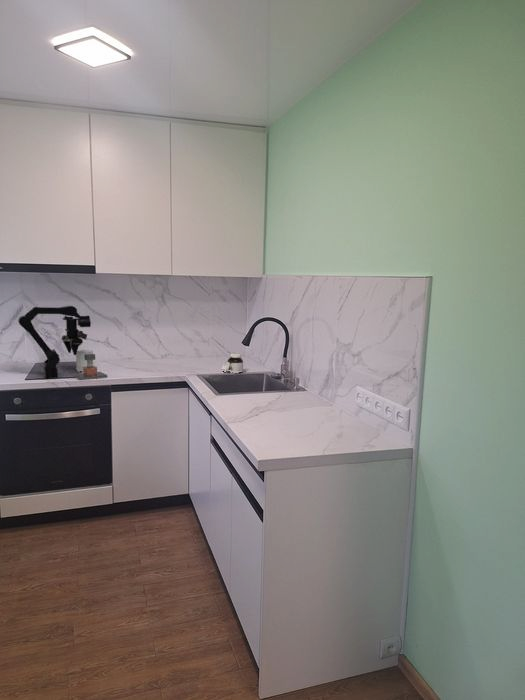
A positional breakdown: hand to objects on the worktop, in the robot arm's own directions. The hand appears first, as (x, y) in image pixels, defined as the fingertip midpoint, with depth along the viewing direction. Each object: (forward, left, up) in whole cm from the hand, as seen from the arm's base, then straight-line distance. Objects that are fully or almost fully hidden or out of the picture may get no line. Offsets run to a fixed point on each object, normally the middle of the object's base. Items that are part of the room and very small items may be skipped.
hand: (72, 353), depth 282 cm
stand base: (+7, -9, -13) cm, 17 cm away
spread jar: (+87, -40, -13) cm, 97 cm away
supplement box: (+11, +11, -13) cm, 20 cm away
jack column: (+7, -9, -7) cm, 13 cm away
